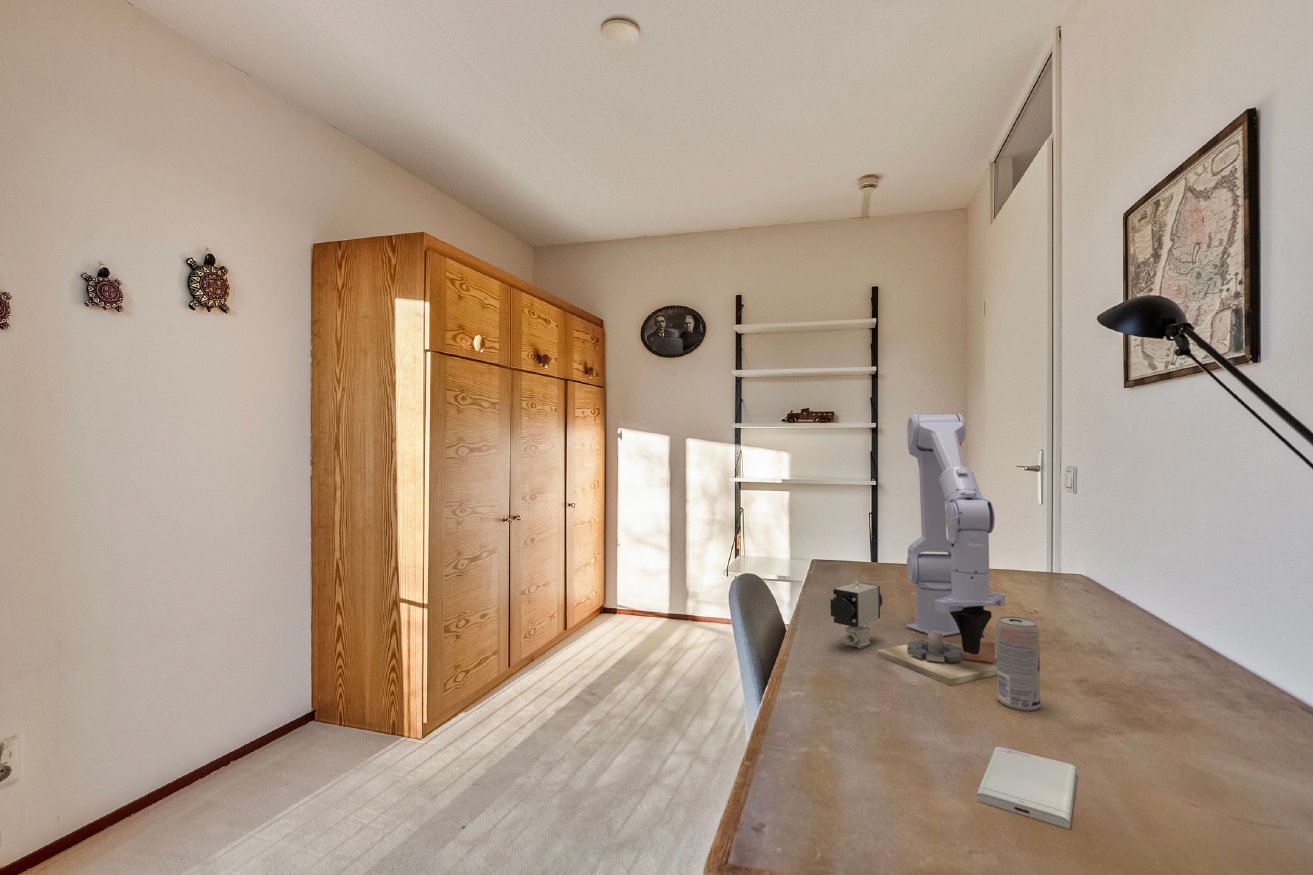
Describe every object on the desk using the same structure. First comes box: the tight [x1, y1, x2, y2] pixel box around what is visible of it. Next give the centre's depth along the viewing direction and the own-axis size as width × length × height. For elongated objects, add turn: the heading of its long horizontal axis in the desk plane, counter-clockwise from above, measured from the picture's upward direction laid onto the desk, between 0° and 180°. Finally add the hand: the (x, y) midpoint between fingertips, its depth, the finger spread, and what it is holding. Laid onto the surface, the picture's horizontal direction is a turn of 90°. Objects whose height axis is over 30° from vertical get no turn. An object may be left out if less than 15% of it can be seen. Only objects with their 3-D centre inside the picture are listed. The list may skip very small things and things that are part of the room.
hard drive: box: [976, 746, 1077, 830], centre depth 68 cm, size 2×8×12 cm
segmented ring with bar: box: [907, 636, 996, 662], centre depth 107 cm, size 14×9×3 cm, turn 65°
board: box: [876, 630, 997, 686], centre depth 107 cm, size 15×16×5 cm
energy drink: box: [995, 615, 1041, 712], centre depth 90 cm, size 5×5×12 cm
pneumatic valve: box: [829, 580, 883, 650], centre depth 117 cm, size 6×12×12 cm, turn 133°
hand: (971, 652), depth 103 cm, fingers closed, pressing on segmented ring with bar
